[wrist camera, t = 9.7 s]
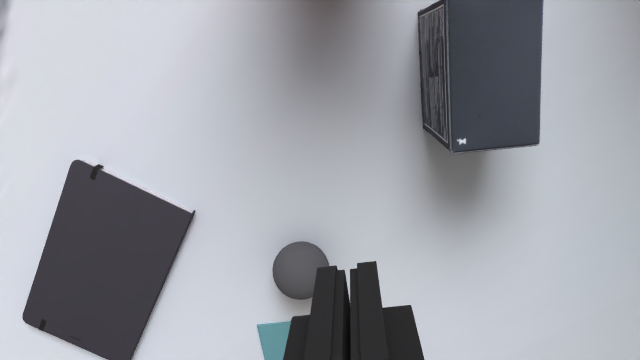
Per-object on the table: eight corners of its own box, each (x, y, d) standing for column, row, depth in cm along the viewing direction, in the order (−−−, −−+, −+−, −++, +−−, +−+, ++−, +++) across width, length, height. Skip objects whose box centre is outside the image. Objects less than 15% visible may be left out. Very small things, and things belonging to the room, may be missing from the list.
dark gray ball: (325, 304, 38) (333, 294, 43) (324, 242, 38) (332, 240, 44) (265, 304, 39) (280, 294, 44) (265, 243, 39) (280, 241, 45)
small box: (494, 123, 39) (545, 148, 29) (422, 131, 39) (447, 158, 29) (494, -1, 36) (551, -21, 26) (415, 9, 36) (441, -7, 26)
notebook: (132, 358, 50) (197, 208, 44) (125, 367, 48) (192, 213, 42) (30, 313, 49) (82, 153, 43) (20, 321, 47) (72, 156, 41)
